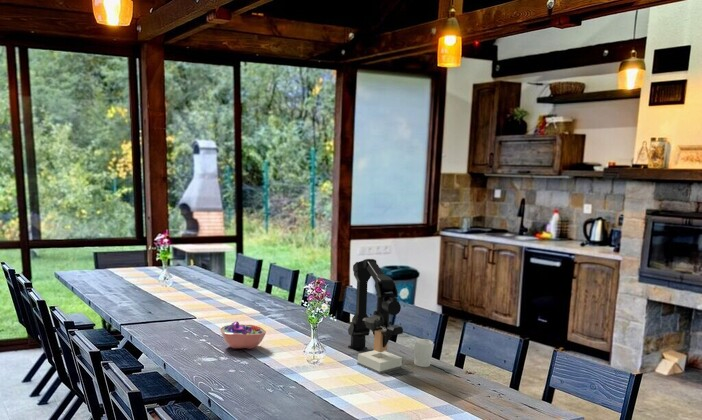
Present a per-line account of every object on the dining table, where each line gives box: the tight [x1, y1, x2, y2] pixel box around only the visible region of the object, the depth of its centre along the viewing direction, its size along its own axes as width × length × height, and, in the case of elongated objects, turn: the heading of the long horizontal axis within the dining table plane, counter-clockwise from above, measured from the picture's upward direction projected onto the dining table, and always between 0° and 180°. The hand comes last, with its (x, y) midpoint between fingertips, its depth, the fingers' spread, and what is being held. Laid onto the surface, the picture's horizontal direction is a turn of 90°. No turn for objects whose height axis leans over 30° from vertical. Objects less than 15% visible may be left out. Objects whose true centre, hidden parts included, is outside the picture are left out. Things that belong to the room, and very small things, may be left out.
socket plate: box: [357, 350, 403, 375], centre depth 228 cm, size 13×13×5 cm
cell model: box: [219, 321, 267, 350], centre depth 239 cm, size 17×20×11 cm
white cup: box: [413, 338, 434, 368], centre depth 234 cm, size 8×8×10 cm
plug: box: [372, 328, 389, 352], centre depth 227 cm, size 4×4×8 cm
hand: (380, 345), depth 227 cm, fingers closed on plug, 3 cm apart
